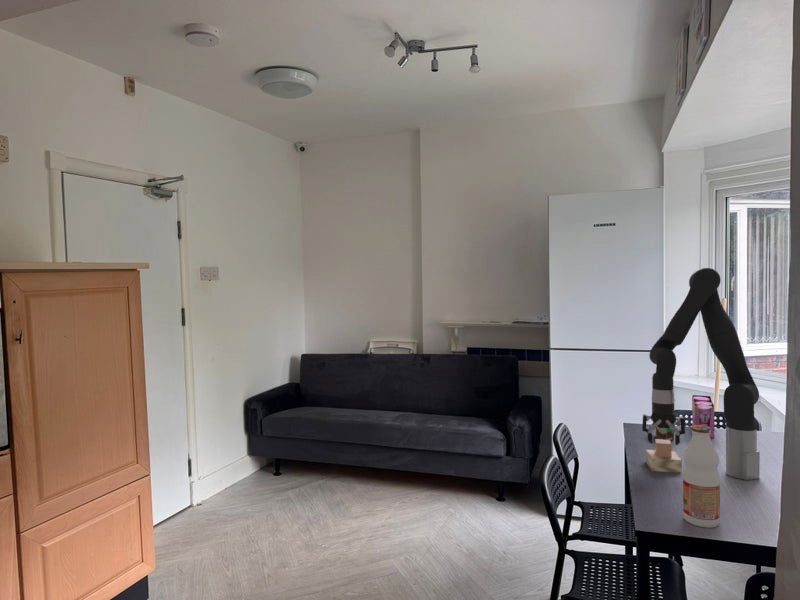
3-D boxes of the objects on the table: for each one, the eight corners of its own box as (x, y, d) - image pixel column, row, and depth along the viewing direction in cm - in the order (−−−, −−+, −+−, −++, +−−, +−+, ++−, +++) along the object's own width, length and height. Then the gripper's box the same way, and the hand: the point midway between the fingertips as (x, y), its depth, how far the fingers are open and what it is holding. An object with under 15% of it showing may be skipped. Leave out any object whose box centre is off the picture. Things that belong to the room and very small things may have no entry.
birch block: (674, 463, 202) (674, 450, 201) (681, 473, 192) (681, 460, 192) (645, 462, 204) (645, 449, 204) (651, 471, 194) (651, 458, 194)
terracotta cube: (670, 453, 199) (670, 440, 199) (671, 457, 194) (671, 444, 194) (655, 451, 201) (655, 438, 201) (656, 456, 196) (656, 442, 196)
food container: (682, 442, 224) (682, 419, 224) (667, 443, 224) (667, 419, 224) (668, 433, 237) (668, 411, 236) (654, 434, 237) (654, 412, 236)
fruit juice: (704, 531, 149) (704, 433, 148) (675, 517, 158) (675, 425, 156) (727, 524, 152) (727, 429, 151) (698, 511, 161) (698, 420, 160)
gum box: (715, 439, 228) (715, 408, 227) (694, 437, 231) (694, 406, 231) (710, 424, 249) (710, 395, 248) (691, 422, 253) (691, 394, 252)
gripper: (683, 399, 197) (683, 442, 198) (641, 397, 203) (642, 439, 203) (685, 404, 190) (686, 448, 191) (642, 401, 196) (642, 445, 196)
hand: (663, 443), depth 197 cm, fingers open, 8 cm apart
